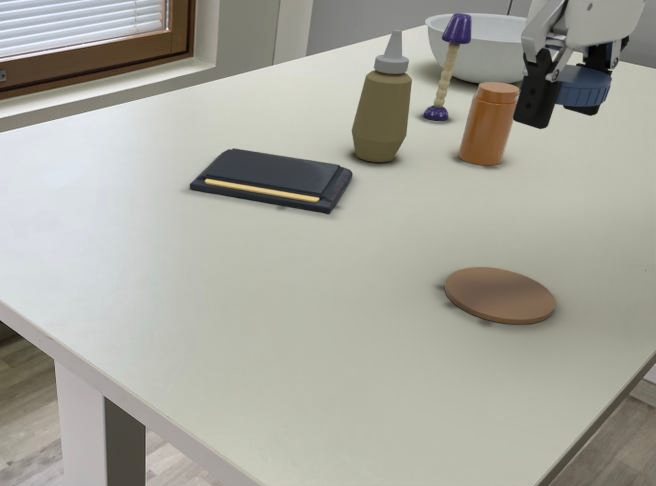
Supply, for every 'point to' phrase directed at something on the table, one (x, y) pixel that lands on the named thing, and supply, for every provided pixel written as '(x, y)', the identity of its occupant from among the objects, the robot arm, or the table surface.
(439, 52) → the bowl
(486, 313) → the coaster
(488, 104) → the jar
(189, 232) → the table surface
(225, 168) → the wallet
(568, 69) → the lid
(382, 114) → the squeeze bottle
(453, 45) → the toy lamp
